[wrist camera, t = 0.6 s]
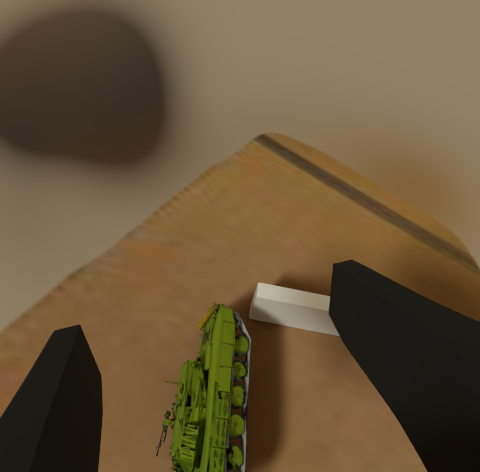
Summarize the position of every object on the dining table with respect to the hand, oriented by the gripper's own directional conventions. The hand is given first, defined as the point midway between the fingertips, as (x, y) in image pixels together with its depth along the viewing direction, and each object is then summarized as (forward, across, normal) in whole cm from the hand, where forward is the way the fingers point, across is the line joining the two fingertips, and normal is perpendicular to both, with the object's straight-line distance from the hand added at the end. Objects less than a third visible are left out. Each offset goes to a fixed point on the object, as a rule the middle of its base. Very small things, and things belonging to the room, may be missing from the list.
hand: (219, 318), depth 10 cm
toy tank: (+5, +3, +17) cm, 18 cm away
